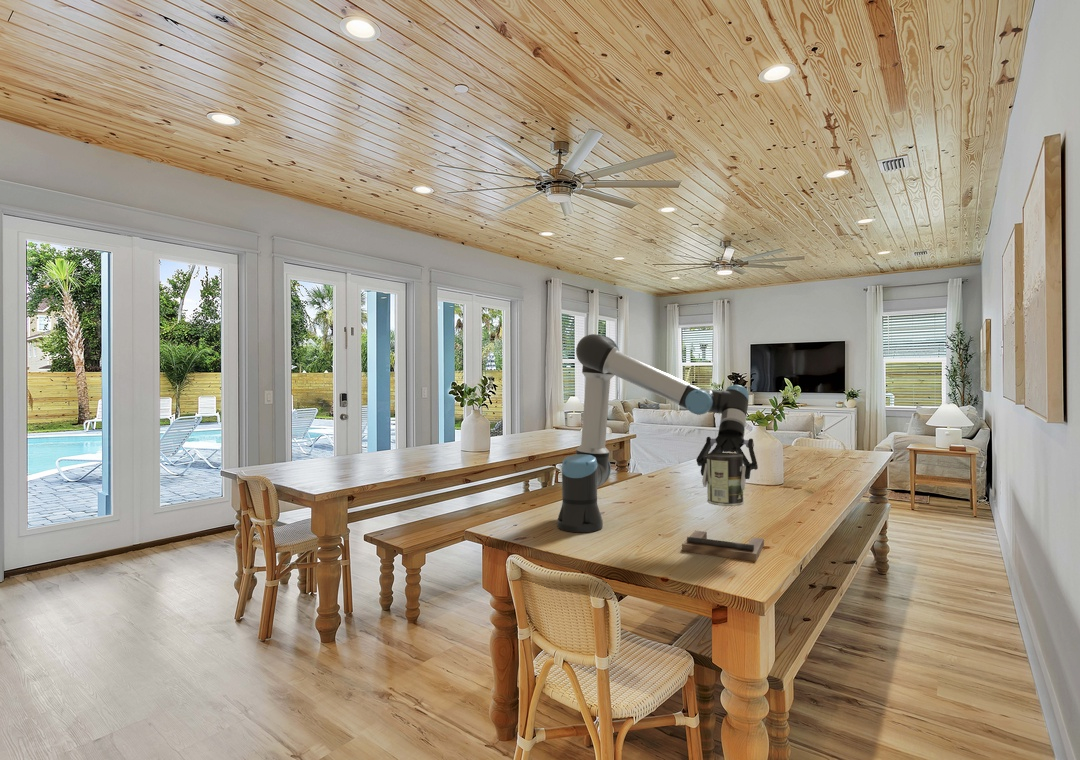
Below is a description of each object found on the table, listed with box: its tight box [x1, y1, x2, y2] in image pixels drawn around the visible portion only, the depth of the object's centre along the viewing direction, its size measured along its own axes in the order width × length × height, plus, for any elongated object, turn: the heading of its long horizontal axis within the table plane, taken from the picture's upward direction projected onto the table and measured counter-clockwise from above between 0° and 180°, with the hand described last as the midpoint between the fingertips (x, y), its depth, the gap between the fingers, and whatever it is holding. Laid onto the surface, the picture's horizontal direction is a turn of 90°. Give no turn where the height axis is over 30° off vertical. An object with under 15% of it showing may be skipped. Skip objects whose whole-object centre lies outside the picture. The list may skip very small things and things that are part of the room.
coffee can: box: [706, 452, 744, 507], centre depth 166 cm, size 10×10×14 cm
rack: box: [681, 530, 765, 562], centre depth 164 cm, size 20×16×4 cm
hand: (723, 485), depth 163 cm, fingers closed on coffee can, 10 cm apart
